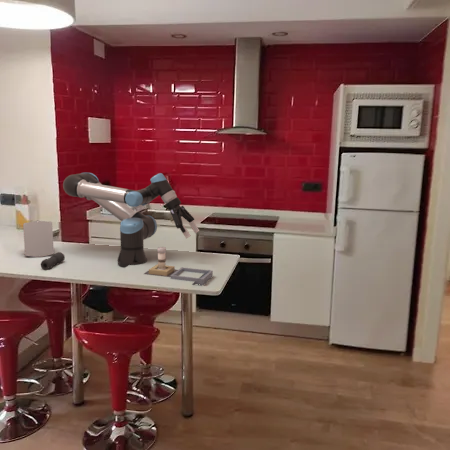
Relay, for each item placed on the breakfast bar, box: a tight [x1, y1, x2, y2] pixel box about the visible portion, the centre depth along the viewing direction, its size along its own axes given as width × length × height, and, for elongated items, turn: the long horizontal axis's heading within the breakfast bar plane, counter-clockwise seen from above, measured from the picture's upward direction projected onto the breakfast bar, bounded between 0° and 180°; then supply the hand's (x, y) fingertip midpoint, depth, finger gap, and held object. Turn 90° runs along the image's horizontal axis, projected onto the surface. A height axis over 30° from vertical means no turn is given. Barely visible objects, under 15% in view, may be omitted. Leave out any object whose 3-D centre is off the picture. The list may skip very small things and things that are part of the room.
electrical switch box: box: [22, 220, 55, 258], centre depth 259 cm, size 14×15×20 cm
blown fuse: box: [157, 246, 167, 270], centre depth 226 cm, size 4×4×12 cm
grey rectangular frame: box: [170, 267, 214, 286], centre depth 222 cm, size 16×14×3 cm
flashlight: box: [40, 251, 66, 271], centre depth 238 cm, size 15×5×5 cm, turn 171°
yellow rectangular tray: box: [143, 263, 178, 278], centre depth 227 cm, size 14×12×4 cm
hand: (193, 234), depth 246 cm, fingers open, 13 cm apart
